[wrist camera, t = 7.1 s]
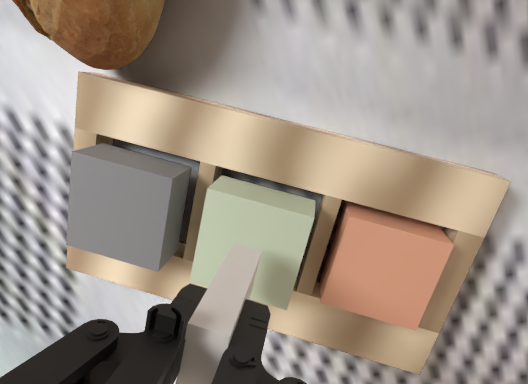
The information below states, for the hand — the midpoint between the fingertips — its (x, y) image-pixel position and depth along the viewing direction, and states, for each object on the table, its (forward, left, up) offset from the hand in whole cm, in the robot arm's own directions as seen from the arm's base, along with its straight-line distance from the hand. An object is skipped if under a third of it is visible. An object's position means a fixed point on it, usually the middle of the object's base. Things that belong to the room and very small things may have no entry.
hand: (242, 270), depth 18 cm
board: (0, 0, -7) cm, 7 cm away
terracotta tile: (+8, 0, -7) cm, 10 cm away
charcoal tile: (-8, 0, -5) cm, 9 cm away
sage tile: (0, 0, -5) cm, 5 cm away
